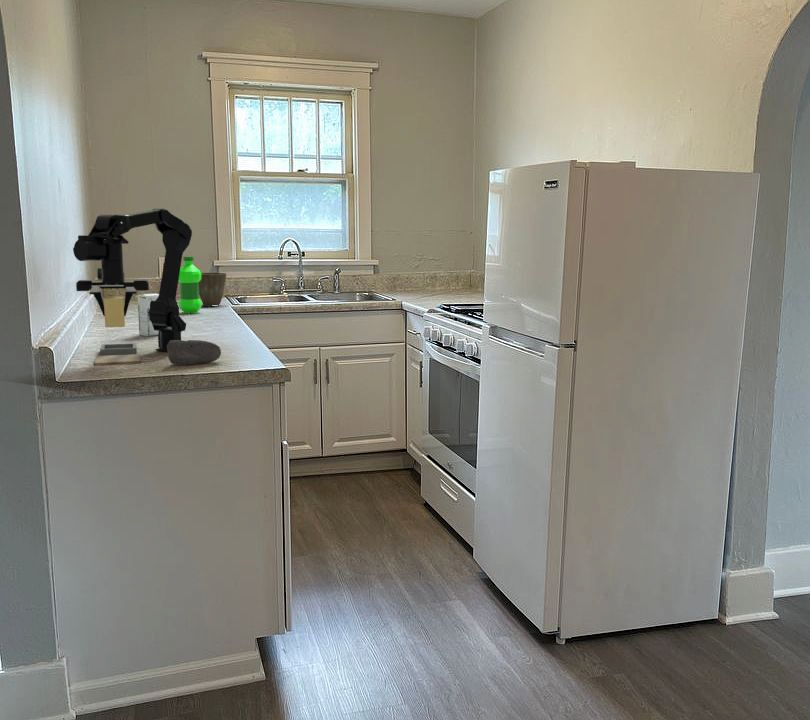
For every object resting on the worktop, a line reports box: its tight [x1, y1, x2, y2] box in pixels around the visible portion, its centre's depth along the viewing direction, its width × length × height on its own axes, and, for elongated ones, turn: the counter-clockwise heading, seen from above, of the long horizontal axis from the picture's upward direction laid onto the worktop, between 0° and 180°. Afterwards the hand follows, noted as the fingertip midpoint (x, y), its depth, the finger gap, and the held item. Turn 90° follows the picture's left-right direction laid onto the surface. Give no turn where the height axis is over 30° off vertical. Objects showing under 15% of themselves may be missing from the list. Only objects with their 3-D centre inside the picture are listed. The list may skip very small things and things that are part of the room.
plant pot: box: [199, 272, 227, 307], centre depth 359 cm, size 15×15×16 cm
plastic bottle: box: [178, 256, 203, 314], centre depth 328 cm, size 10×10×25 cm
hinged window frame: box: [99, 342, 138, 356], centre depth 227 cm, size 10×20×2 cm, turn 20°
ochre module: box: [103, 296, 126, 328], centre depth 208 cm, size 5×5×8 cm
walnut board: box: [93, 353, 142, 366], centre depth 210 cm, size 12×12×1 cm
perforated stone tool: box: [166, 339, 222, 365], centre depth 206 cm, size 15×5×7 cm, turn 114°
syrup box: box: [137, 293, 159, 337], centre depth 259 cm, size 6×6×14 cm
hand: (114, 316), depth 208 cm, fingers closed on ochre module, 5 cm apart
